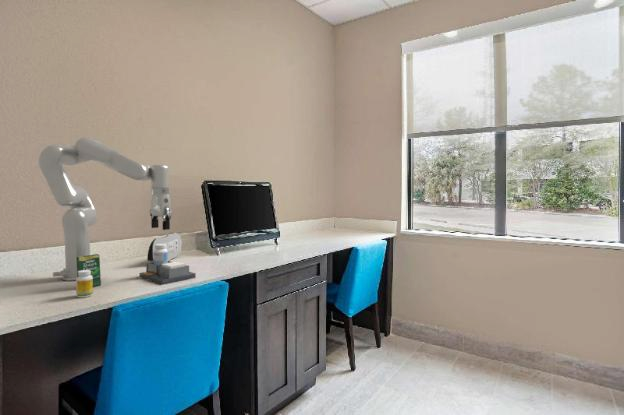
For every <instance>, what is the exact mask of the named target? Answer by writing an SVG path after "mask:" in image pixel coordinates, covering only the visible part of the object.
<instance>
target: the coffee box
mask: <svg viewBox="0 0 624 415" xmlns="http://www.w3.org/2000/svg"><path fill="white" fill-rule="evenodd" d="M76 260H77V277H79V275H78V271H81V270H90V271H91V274H90V275H91V276H92V277H93V288H94V287H99V286H101V285H102V282H101V281H102V280H101V277H102V276H101V260H100V254H98V253H94V254H90V255H88V256H80V257H76Z"/></svg>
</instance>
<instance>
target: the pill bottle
mask: <svg viewBox="0 0 624 415" xmlns="http://www.w3.org/2000/svg"><path fill="white" fill-rule="evenodd" d="M155 248H156V249H155V250H154V261H153V262H154V265H157V266H158V265H162V264H165V263H168V251H167V249H165V248H166V244H156V245H155Z"/></svg>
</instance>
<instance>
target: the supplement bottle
mask: <svg viewBox="0 0 624 415" xmlns="http://www.w3.org/2000/svg"><path fill="white" fill-rule="evenodd" d="M90 274H91V271H90V270H81V271H78V275H79V277H77V278H76V280H75V286H76V288H75V289H76V293H75V294H76V298H78V299H79V298H81V299H82V298H84V297H85V298H90V297H92V296H93V295H94V287H93V277H92V276H91V275H90Z"/></svg>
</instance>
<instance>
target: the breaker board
mask: <svg viewBox="0 0 624 415" xmlns="http://www.w3.org/2000/svg"><path fill="white" fill-rule="evenodd" d="M171 262H172V261H171V260H169V261H168V263H171ZM138 274H139V278H140V277H141V279H143V280H147V279H148V280H147V281H150V280H151V281H150V282H153V281H154V282H153V283H156V284H159V285H163V286H164V284H165V285H169V284H173V282H174V283H177V282H182V281H186V280H192V279H196V272H192V271H190V265H187V264H185V266H184V267H178V268H173V269H168V268H165V267H162V265H158V266H157V265H154V261H149V262H146V263H145V271H143V272H142V271H141V272H139V273H138Z"/></svg>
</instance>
